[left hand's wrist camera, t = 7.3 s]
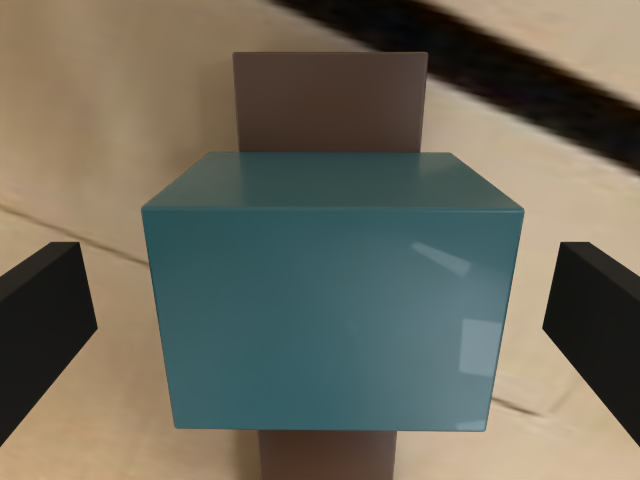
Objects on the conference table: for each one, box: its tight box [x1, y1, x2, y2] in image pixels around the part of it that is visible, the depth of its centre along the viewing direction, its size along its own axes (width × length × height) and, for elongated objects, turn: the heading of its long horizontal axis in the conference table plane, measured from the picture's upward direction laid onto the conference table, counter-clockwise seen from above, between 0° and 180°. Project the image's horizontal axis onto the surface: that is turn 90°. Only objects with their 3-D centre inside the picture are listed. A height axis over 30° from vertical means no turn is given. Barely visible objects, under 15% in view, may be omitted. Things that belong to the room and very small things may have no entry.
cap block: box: [141, 152, 524, 432], centre depth 13 cm, size 6×8×6 cm
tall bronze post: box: [233, 52, 428, 480], centre depth 21 cm, size 28×6×5 cm, turn 0°
